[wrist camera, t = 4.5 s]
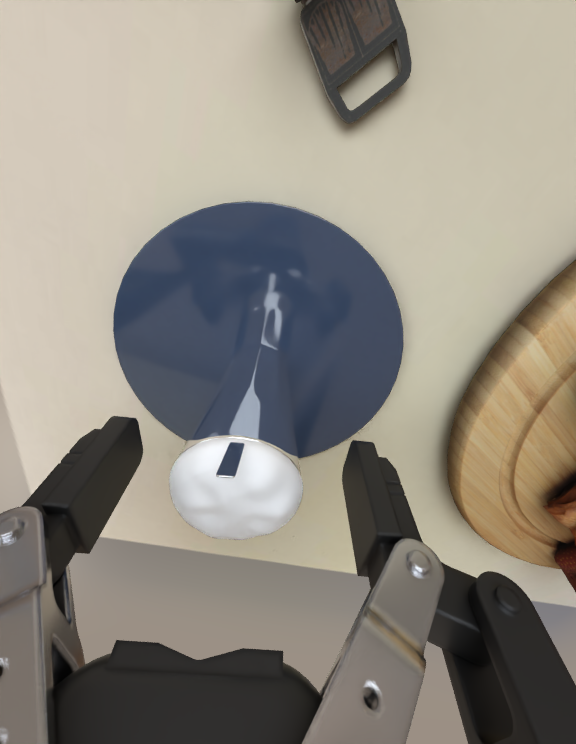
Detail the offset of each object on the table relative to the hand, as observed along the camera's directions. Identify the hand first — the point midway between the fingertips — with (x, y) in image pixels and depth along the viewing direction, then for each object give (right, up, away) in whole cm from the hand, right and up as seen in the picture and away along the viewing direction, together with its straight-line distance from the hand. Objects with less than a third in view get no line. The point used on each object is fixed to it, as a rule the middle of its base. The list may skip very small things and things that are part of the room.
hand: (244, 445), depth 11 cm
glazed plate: (0, +4, +6) cm, 7 cm away
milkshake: (0, +3, +6) cm, 7 cm away
